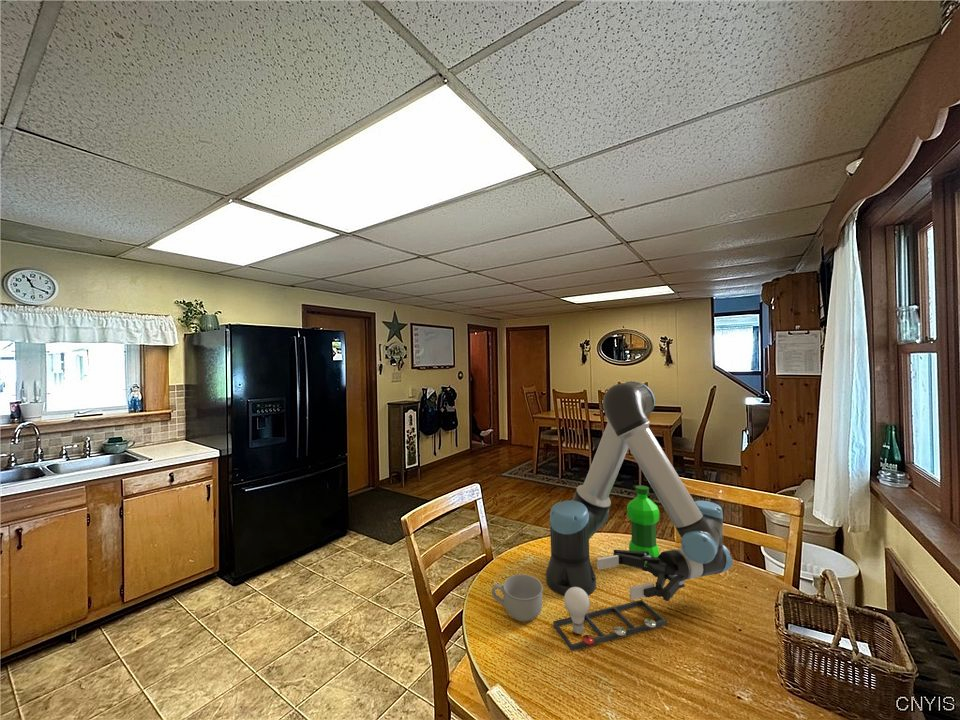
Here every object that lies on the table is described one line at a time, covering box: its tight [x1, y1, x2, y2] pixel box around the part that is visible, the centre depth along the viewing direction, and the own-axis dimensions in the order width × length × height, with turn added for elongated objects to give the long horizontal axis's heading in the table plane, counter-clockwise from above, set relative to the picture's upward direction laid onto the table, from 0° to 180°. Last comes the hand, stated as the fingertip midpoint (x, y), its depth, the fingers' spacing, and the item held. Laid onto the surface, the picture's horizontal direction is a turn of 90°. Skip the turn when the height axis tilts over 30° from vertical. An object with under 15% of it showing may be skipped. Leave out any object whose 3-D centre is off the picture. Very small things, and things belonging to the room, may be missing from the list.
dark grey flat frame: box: [552, 599, 667, 652], centre depth 97 cm, size 10×28×2 cm, turn 107°
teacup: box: [491, 573, 544, 622], centre depth 103 cm, size 14×11×8 cm
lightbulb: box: [563, 587, 591, 635], centre depth 95 cm, size 6×6×11 cm
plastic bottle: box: [626, 485, 660, 566], centre depth 129 cm, size 10×10×25 cm
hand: (613, 577), depth 97 cm, fingers open, 13 cm apart
